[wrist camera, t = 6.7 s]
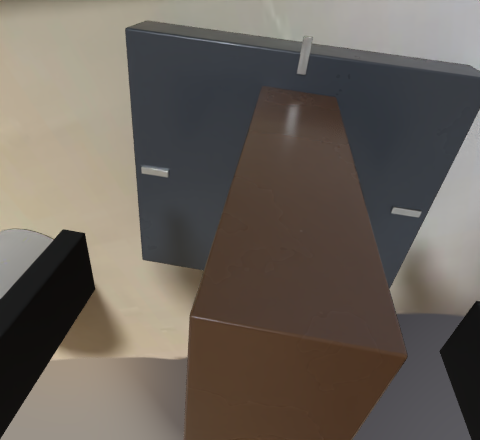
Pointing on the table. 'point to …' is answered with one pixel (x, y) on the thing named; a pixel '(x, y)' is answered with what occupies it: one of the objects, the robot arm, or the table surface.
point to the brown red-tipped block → (291, 289)
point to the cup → (18, 254)
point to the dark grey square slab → (240, 114)
